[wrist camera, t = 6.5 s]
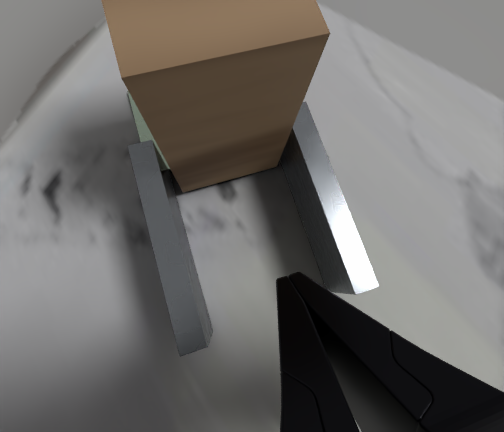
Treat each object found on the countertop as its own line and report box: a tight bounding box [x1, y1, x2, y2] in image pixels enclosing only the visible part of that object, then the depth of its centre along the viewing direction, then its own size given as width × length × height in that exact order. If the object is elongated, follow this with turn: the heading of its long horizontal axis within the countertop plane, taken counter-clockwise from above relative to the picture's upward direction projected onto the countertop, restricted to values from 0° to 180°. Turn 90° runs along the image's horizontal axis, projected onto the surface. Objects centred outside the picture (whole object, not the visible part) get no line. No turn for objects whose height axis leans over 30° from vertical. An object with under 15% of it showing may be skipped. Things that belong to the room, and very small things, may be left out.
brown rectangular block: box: [102, 0, 330, 192], centre depth 13 cm, size 6×6×10 cm
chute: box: [127, 91, 379, 356], centre depth 16 cm, size 16×9×4 cm, turn 18°
